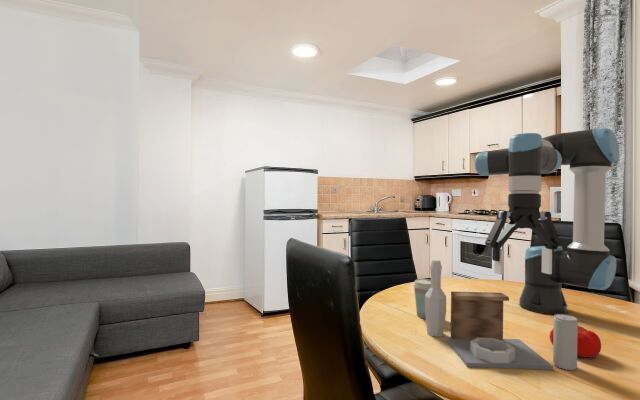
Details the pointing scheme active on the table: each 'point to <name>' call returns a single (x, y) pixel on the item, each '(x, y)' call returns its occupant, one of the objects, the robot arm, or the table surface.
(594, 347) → the tomato
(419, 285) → the coffee cup
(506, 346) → the socket board
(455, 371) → the table surface
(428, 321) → the low poly bottle
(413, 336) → the table surface
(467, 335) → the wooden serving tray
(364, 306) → the table surface
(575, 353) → the beverage can
